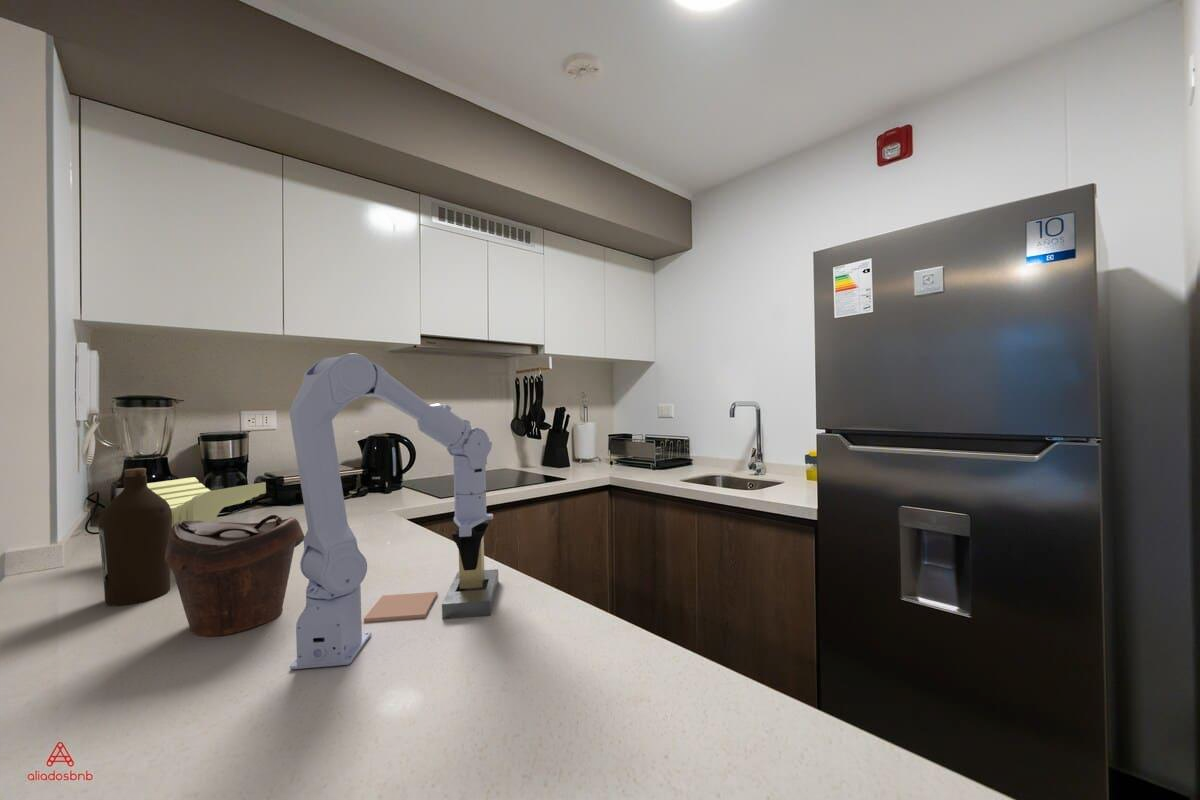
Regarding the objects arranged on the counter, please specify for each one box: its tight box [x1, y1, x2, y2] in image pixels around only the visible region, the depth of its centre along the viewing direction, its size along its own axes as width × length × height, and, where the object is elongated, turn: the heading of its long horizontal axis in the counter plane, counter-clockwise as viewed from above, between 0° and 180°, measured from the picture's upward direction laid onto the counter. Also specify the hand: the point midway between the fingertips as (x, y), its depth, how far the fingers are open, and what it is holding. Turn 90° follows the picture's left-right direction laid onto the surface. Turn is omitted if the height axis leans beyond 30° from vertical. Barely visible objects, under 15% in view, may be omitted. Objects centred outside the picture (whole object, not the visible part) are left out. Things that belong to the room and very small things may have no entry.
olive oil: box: [97, 467, 172, 606], centre depth 98 cm, size 11×11×25 cm
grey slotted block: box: [441, 569, 500, 620], centre depth 93 cm, size 16×8×2 cm, turn 7°
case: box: [165, 514, 305, 637], centre depth 87 cm, size 18×20×18 cm
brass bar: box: [458, 534, 485, 589], centre depth 93 cm, size 4×4×9 cm
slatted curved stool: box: [147, 476, 267, 527], centre depth 124 cm, size 30×16×18 cm, turn 66°
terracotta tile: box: [363, 591, 438, 623], centre depth 90 cm, size 10×10×1 cm
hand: (471, 565), depth 93 cm, fingers closed on brass bar, 4 cm apart
